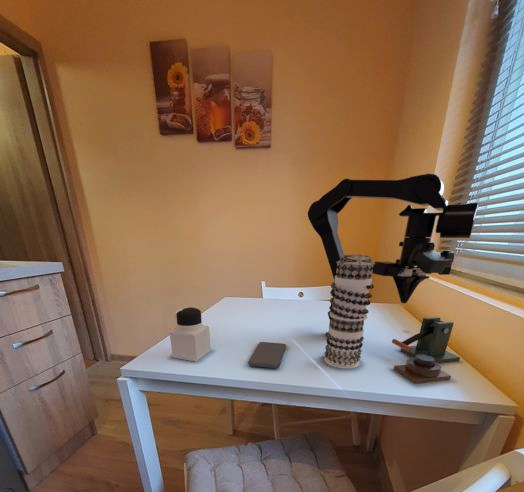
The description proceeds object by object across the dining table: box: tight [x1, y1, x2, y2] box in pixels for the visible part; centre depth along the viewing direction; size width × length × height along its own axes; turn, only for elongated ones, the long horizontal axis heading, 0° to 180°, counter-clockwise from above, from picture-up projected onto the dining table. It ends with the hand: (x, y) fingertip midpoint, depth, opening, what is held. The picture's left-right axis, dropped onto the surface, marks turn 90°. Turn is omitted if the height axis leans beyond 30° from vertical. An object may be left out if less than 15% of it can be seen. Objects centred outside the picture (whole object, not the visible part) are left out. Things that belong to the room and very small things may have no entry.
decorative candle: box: [324, 254, 375, 369], centre depth 64 cm, size 9×9×25 cm
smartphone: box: [247, 341, 287, 369], centre depth 71 cm, size 8×1×15 cm
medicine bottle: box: [169, 306, 212, 363], centre depth 69 cm, size 7×7×12 cm
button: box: [414, 354, 435, 368], centre depth 61 cm, size 4×4×2 cm
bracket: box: [400, 316, 461, 364], centre depth 71 cm, size 10×9×10 cm
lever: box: [391, 319, 444, 352], centre depth 69 cm, size 12×6×2 cm, turn 104°
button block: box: [393, 357, 452, 385], centre depth 62 cm, size 9×7×3 cm
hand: (403, 302), depth 71 cm, fingers closed
